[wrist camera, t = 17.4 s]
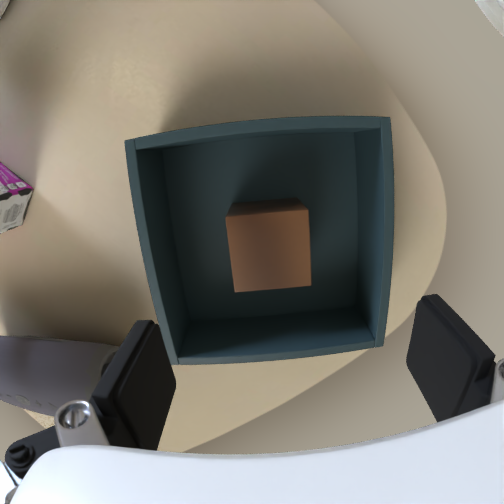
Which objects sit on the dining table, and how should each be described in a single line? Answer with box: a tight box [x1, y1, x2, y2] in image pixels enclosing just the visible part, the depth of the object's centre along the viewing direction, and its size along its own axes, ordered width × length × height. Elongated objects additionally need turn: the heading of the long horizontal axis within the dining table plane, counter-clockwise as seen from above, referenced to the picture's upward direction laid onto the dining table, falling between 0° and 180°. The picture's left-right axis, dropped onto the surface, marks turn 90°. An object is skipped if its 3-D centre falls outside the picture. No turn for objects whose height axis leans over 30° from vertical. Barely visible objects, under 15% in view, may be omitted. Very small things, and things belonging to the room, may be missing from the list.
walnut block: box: [225, 197, 312, 292], centre depth 23 cm, size 6×6×6 cm
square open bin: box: [125, 116, 394, 365], centre depth 24 cm, size 18×18×7 cm
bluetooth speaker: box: [0, 336, 120, 417], centre depth 27 cm, size 23×9×10 cm, turn 96°
